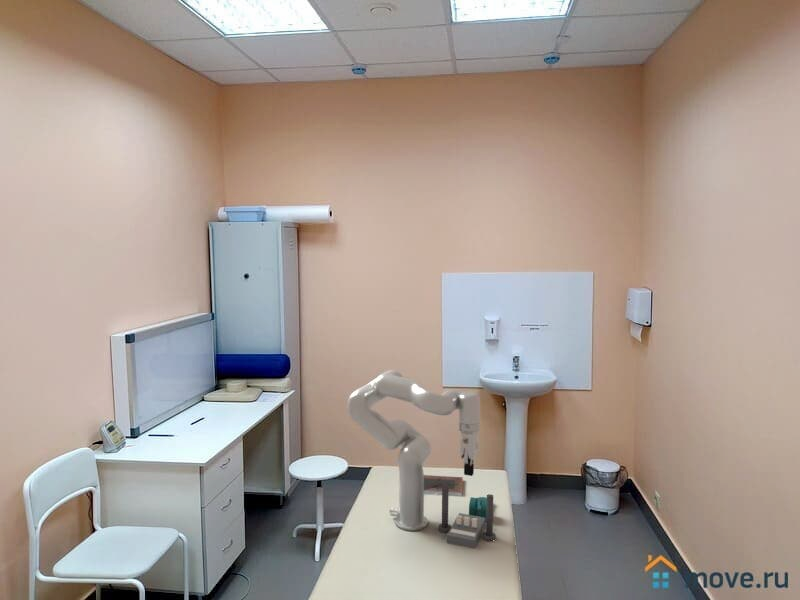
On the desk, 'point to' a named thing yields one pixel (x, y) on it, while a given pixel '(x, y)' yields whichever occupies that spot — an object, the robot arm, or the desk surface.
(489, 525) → the post right
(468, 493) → the desk surface
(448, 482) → the picture frame
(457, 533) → the breaker panel
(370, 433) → the robot arm
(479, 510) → the teal block
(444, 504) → the post left
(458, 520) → the breaker bank
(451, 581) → the desk surface
